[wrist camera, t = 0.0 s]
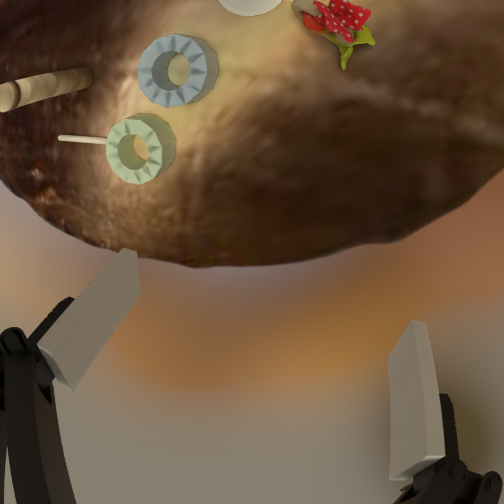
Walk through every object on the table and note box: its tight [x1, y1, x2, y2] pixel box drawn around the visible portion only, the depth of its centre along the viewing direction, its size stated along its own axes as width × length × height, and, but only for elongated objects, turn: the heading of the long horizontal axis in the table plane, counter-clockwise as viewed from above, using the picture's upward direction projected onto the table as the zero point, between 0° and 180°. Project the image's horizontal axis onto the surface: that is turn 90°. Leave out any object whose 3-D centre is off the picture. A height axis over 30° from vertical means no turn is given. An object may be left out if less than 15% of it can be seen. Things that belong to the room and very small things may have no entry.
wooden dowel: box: [0, 67, 94, 112], centre depth 31 cm, size 4×4×16 cm
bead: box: [106, 114, 176, 185], centre depth 40 cm, size 9×9×4 cm
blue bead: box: [137, 34, 219, 108], centre depth 33 cm, size 9×9×4 cm
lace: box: [58, 135, 107, 144], centre depth 42 cm, size 1×13×1 cm, turn 81°
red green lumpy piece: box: [291, 0, 375, 70], centre depth 25 cm, size 6×11×9 cm
